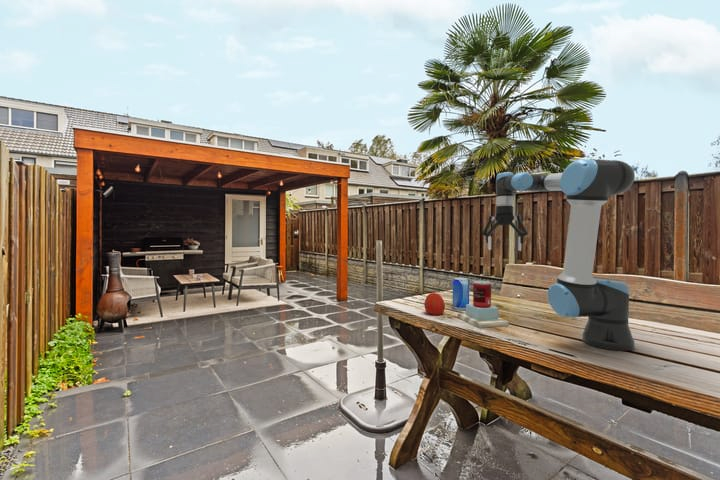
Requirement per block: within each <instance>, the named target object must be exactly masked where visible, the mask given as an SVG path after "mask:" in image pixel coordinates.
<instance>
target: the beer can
mask: <svg viewBox="0 0 720 480" xmlns="http://www.w3.org/2000/svg"><path fill="white" fill-rule="evenodd" d="M466 304H470V282H469V281H468V278H466V277H455V278H454V279H453V281H452V307H453V309H454V310H456V311H466Z"/></svg>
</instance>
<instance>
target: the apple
mask: <svg viewBox="0 0 720 480" xmlns="http://www.w3.org/2000/svg"><path fill="white" fill-rule="evenodd" d="M423 305H424V306H423V307H424V309H425V312H426V313H427V314H429V315H433V316H441V315H443V314H444V312H445V309H446V303H445V301H444V299H443V297H442V295H441V294H440V293H437V292H431V293H429V294H427V296H426V297H425V300H424V304H423Z"/></svg>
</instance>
